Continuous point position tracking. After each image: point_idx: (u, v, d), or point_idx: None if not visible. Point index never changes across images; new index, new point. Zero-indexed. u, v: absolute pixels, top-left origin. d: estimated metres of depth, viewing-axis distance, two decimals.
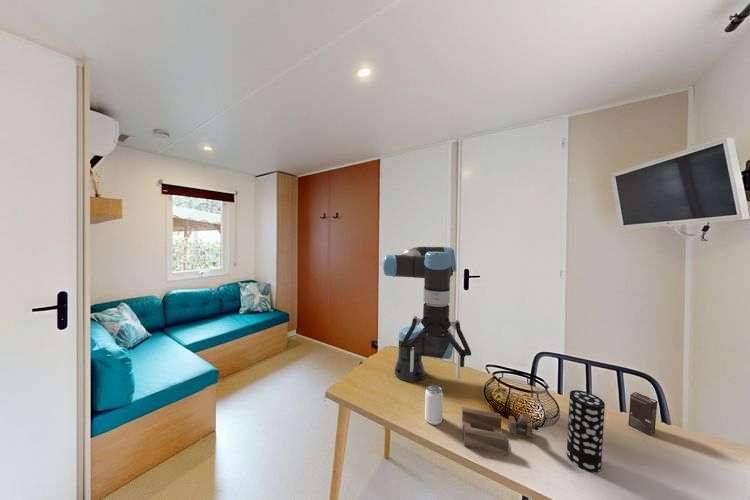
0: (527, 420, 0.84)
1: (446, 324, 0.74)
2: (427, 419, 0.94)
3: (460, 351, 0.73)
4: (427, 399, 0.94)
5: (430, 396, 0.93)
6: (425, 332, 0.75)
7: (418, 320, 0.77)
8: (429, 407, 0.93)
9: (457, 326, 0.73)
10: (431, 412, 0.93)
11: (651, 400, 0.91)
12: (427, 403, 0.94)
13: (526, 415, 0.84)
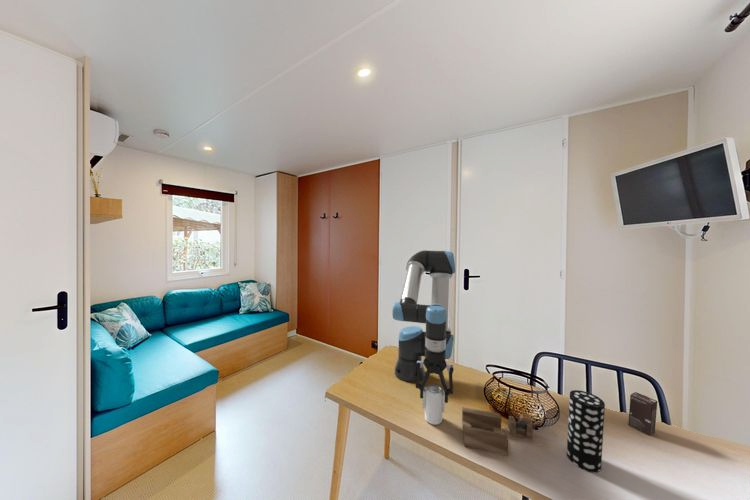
0: (527, 420, 0.84)
1: (443, 365, 0.93)
2: (427, 419, 0.94)
3: (446, 390, 0.93)
4: (427, 399, 0.94)
5: (430, 396, 0.93)
6: (429, 373, 0.94)
7: (421, 363, 0.96)
8: (429, 407, 0.93)
9: (451, 370, 0.92)
10: (431, 412, 0.93)
11: (651, 400, 0.91)
12: (427, 403, 0.94)
13: (526, 415, 0.84)
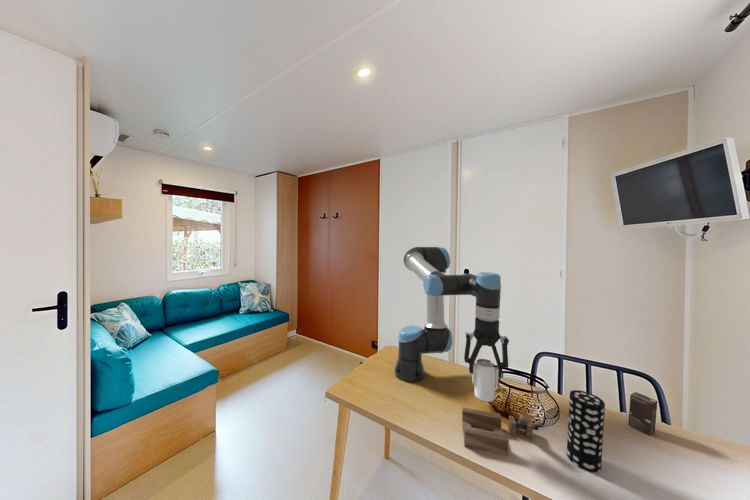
0: (527, 420, 0.84)
1: (497, 336, 0.85)
2: (478, 396, 0.86)
3: (499, 364, 0.85)
4: (479, 374, 0.85)
5: (482, 370, 0.84)
6: (480, 345, 0.86)
7: (470, 335, 0.87)
8: (481, 382, 0.85)
9: (506, 341, 0.84)
10: (484, 388, 0.84)
11: (651, 400, 0.91)
12: (479, 378, 0.85)
13: (526, 415, 0.84)
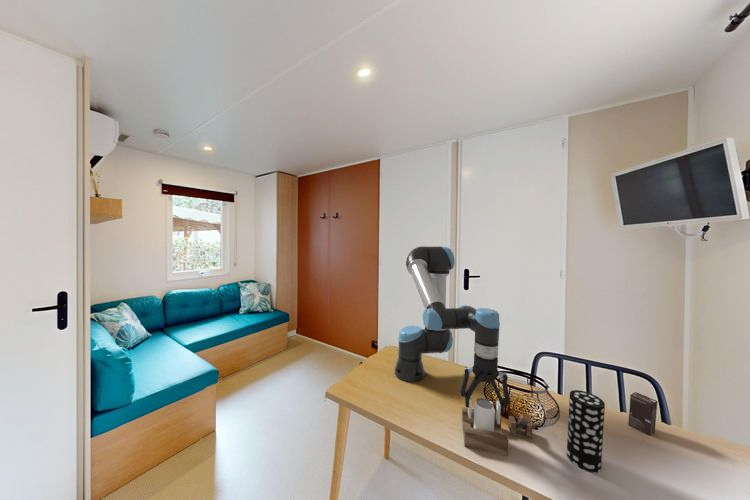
0: (527, 420, 0.84)
1: (495, 373, 0.85)
2: None
3: (501, 400, 0.85)
4: (478, 414, 0.86)
5: (481, 412, 0.85)
6: (478, 381, 0.86)
7: (469, 370, 0.88)
8: (481, 423, 0.85)
9: (505, 378, 0.84)
10: (483, 429, 0.85)
11: (651, 400, 0.91)
12: (478, 419, 0.86)
13: (526, 415, 0.84)
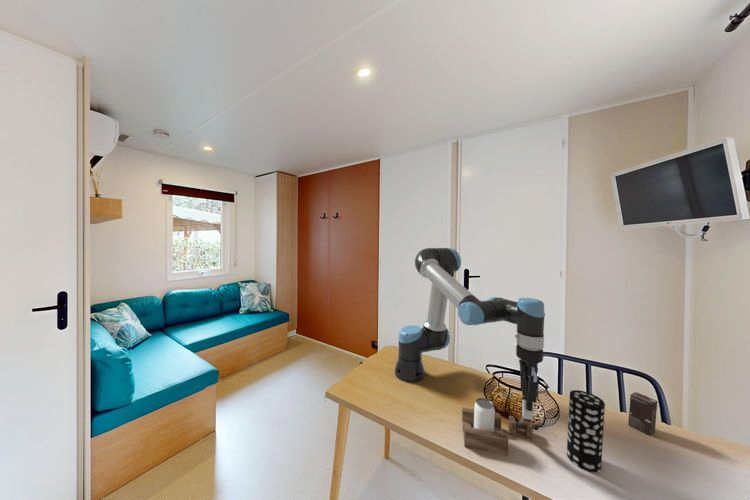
0: (528, 423, 0.84)
1: (528, 367, 0.80)
2: None
3: (525, 394, 0.82)
4: (478, 415, 0.86)
5: (481, 412, 0.85)
6: (521, 371, 0.84)
7: None
8: (481, 423, 0.85)
9: (530, 377, 0.78)
10: (483, 429, 0.85)
11: (651, 400, 0.91)
12: (478, 419, 0.86)
13: (527, 419, 0.83)
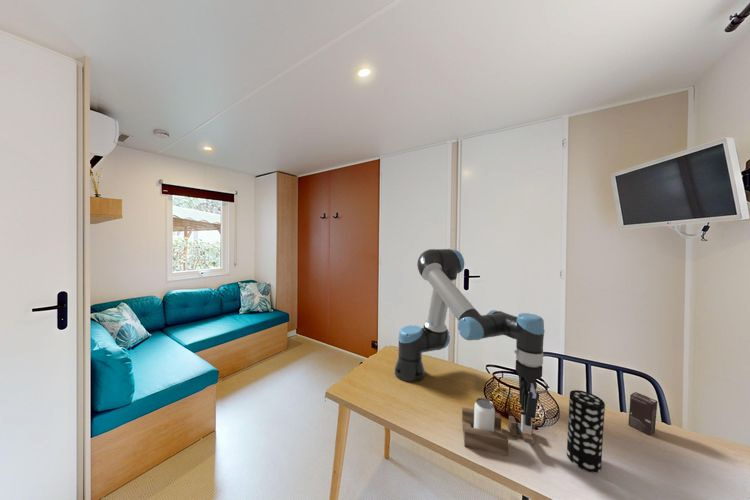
0: None
1: (527, 383, 0.80)
2: None
3: (524, 409, 0.82)
4: (478, 415, 0.86)
5: (481, 412, 0.85)
6: (521, 386, 0.85)
7: None
8: (481, 423, 0.85)
9: (529, 394, 0.78)
10: (483, 429, 0.85)
11: (651, 400, 0.91)
12: (478, 419, 0.86)
13: (529, 440, 0.80)
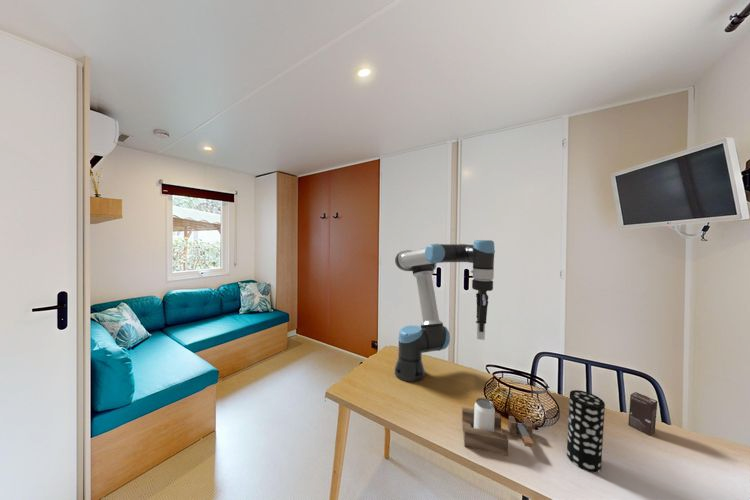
0: None
1: (480, 295, 0.96)
2: None
3: (478, 318, 0.98)
4: (478, 415, 0.86)
5: (481, 412, 0.85)
6: None
7: None
8: (481, 423, 0.85)
9: (480, 302, 0.94)
10: (483, 429, 0.85)
11: (651, 400, 0.91)
12: (478, 419, 0.86)
13: (529, 444, 0.80)
